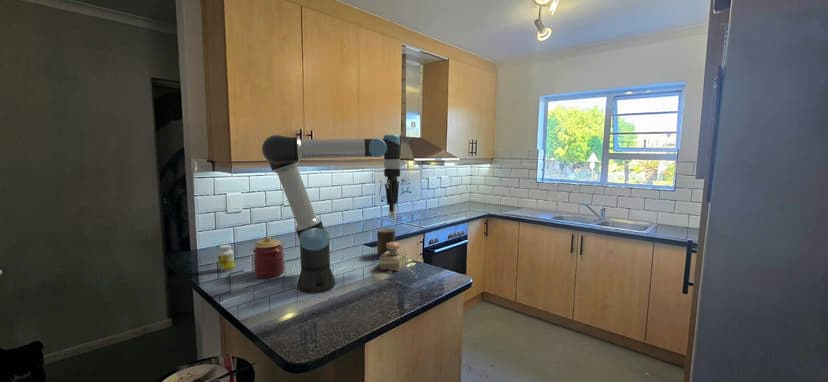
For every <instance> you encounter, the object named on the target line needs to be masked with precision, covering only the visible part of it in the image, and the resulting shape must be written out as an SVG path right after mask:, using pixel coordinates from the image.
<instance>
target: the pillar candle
mask: <svg viewBox="0 0 828 382" xmlns="http://www.w3.org/2000/svg"><path fill="white" fill-rule="evenodd" d="M376 232H377V233H376V235H377V238H376V239H377V240H376V242H377V243H376V246H377V248H376V249H377V251H376V252H377V256H378V258H379V257H380V256H381V255H382V254H384V253H385V252H386V251H389V249H387V248H386V243H388V242H396V229H394V228H379V229H377V230H376Z"/></svg>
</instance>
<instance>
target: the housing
mask: <svg viewBox="0 0 828 382" xmlns="http://www.w3.org/2000/svg"><path fill="white" fill-rule="evenodd" d="M378 258H379V259H378V261H379V270H385V269H389V270H388V271H393V270H396V271H395V272H400V271H401V270H402V269H403V268H404V267H405V266H406V265H407V252H404V251H397V256H396V257H395V256H389V251H386V252H385V253H384V254H382V255H381V256H380V257H379V256H378Z"/></svg>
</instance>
